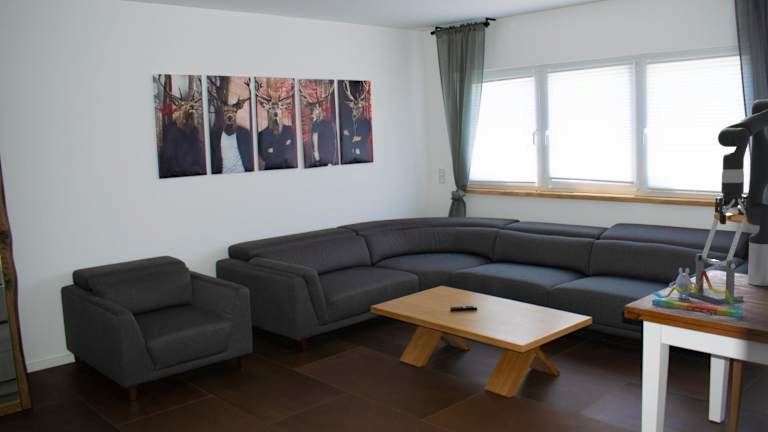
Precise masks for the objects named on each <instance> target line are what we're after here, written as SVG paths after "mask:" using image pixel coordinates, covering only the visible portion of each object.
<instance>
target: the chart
mask: <svg viewBox="0 0 768 432" xmlns="http://www.w3.org/2000/svg"><path fill="white" fill-rule="evenodd" d="M703 275H704V279H705V282H706V284H707V288H708V287H709V289H710V290H712V291H714V292H716V293H725V294H726V296H727V298H728V300H729V302H730V303H729V304H730V307H731V308H742V307H743V305H744V304H735V302H733V300H732V299H731V297H730V295H729V293H728V291H727V290H726V289H723V290H722V289H720V290H718V289H719V288H716V289H715V287H713V286H712V285H713V284H712V283H711V281H710V279H709V278H710V277H709V276H708V274H707V271H706V270H705V269H704V271H702V274H701V277H700V279H699V282H698V285H697V288H696V289H695V288H694V286H693V284H692V285H691V284H690V285H688V286H687V287H686V288H684V289H683V290H681V289H680V288H678V287H677V286H675V285H674V286H673V287H671V290H670V291H669V293H668V294H666V295H662V294H661V293H659V292H658V291H653V292H652V294H653V295H654V296H656V297H658V298H654V299H652V300H651V301H652V302H651V303H652V305H654V306H660V307H667V308H673V309H681V310H687V311H693V312H699V313H706V314H712V315H717V316H718V315H719V316H726V317H732V318H738V319H740V318H741V317H743V310H737V309H729V308H722V307H715V306H708V305H702V304H694V303H687V302H683V301H682V302H681V301H675V300H667V299H665V298H669V297H670V296H671V294H672V293H673V292H674V291H676V292H677V291H678V292H679V293H682V292H683V291H684V290H686V289H687V288H688V287H689V288H690V289H691V290H692V291H693V292H694V293H696V292H698V289H699V286H700V284H701V281H702V278H703ZM678 292H677V293H678ZM679 293H678V294H679ZM663 298H664V299H663Z"/></svg>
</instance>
